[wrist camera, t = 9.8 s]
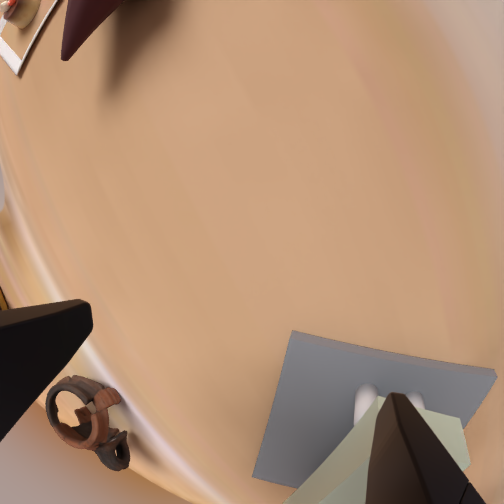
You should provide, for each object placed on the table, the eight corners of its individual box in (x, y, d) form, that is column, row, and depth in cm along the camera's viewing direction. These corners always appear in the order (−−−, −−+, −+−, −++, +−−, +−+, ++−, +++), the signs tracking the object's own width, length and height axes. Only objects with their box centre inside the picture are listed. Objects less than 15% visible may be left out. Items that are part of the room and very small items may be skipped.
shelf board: (459, 418, 15) (470, 464, 11) (345, 518, 21) (339, 551, 17) (377, 395, 16) (378, 447, 12) (282, 502, 22) (271, 537, 18)
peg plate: (493, 369, 17) (509, 403, 14) (399, 494, 23) (398, 524, 19) (292, 330, 21) (279, 365, 17) (254, 469, 27) (242, 499, 23)
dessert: (84, -25, 17) (50, -39, 13) (24, 76, 22) (-12, 74, 18) (44, -40, 18) (16, -49, 13) (-4, 42, 22) (-33, 39, 18)
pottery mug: (69, 391, 34) (27, 399, 26) (113, 353, 34) (71, 357, 26) (123, 467, 31) (89, 491, 23) (174, 436, 31) (143, 461, 23)
